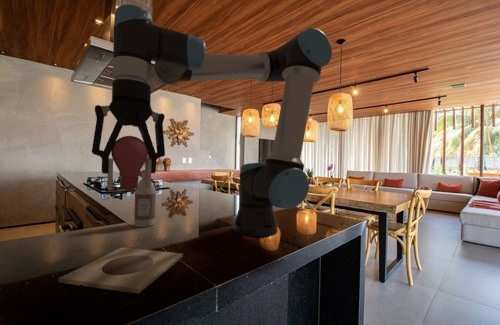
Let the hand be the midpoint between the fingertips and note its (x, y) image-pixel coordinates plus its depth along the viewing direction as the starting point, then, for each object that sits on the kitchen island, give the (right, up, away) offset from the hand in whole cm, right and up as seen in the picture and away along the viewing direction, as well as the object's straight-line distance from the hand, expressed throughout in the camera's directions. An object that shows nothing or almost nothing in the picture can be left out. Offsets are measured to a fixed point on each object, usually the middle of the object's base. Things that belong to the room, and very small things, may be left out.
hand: (129, 188), depth 53 cm
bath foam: (-12, -17, +35) cm, 41 cm away
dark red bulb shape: (0, -1, 0) cm, 1 cm away
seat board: (0, -17, 0) cm, 17 cm away
